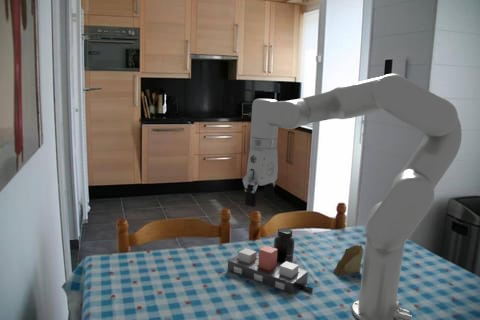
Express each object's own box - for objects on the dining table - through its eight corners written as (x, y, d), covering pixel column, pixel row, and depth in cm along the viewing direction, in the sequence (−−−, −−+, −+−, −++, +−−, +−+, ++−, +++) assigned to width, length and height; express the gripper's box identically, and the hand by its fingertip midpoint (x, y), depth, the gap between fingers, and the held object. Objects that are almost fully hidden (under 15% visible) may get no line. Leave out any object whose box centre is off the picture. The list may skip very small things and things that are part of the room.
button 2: (276, 267, 134) (277, 249, 133) (269, 271, 131) (271, 253, 130) (264, 263, 137) (266, 245, 136) (258, 267, 134) (259, 249, 132)
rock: (336, 274, 135) (368, 270, 135) (331, 247, 138) (362, 244, 139) (330, 280, 144) (359, 277, 145) (325, 254, 148) (354, 251, 148)
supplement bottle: (291, 269, 141) (294, 235, 139) (271, 267, 142) (273, 232, 140) (293, 261, 148) (296, 228, 145) (273, 258, 149) (276, 225, 146)
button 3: (255, 268, 139) (256, 251, 138) (248, 273, 136) (249, 255, 135) (244, 265, 141) (245, 248, 140) (237, 269, 138) (238, 251, 137)
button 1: (297, 283, 131) (298, 265, 130) (290, 288, 128) (292, 269, 126) (284, 279, 133) (286, 261, 132) (278, 284, 130) (279, 265, 129)
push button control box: (318, 287, 130) (320, 275, 129) (303, 300, 122) (305, 287, 121) (245, 261, 145) (245, 250, 144) (227, 272, 137) (227, 260, 136)
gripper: (258, 148, 111) (254, 212, 115) (290, 142, 125) (285, 198, 129) (234, 144, 115) (231, 205, 119) (267, 138, 129) (264, 193, 133)
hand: (259, 202), depth 124 cm, fingers open, 9 cm apart
